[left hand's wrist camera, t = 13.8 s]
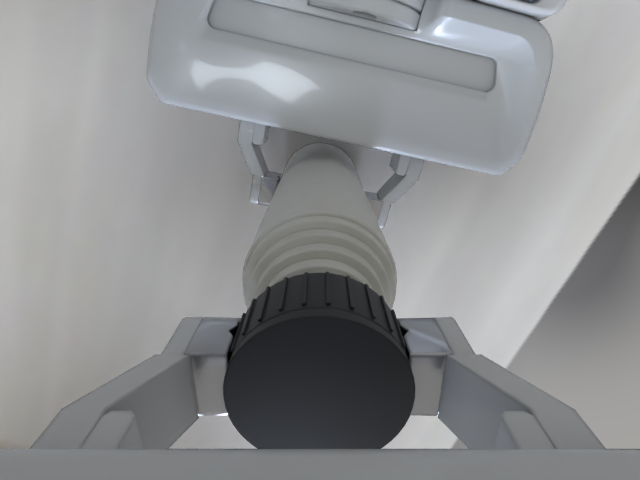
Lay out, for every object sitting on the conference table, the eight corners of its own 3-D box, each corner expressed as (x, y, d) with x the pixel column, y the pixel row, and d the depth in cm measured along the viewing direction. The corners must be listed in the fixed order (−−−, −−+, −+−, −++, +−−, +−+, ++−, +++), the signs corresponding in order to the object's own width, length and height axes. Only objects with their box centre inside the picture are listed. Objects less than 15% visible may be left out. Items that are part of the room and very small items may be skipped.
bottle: (291, 219, 29) (234, 478, 10) (277, 149, 27) (171, 301, 8) (360, 208, 29) (442, 454, 10) (350, 136, 27) (428, 263, 8)
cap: (279, 421, 11) (271, 487, 9) (209, 303, 10) (183, 353, 8) (420, 377, 11) (441, 438, 9) (367, 244, 9) (380, 284, 7)
